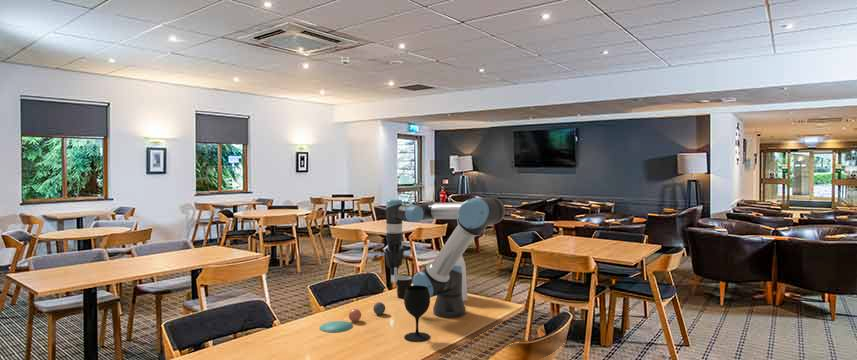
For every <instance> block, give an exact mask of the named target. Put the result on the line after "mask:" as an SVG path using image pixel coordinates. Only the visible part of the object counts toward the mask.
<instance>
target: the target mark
mask: <svg viewBox="0 0 857 360" xmlns="http://www.w3.org/2000/svg"><path fill="white" fill-rule="evenodd" d="M353 326H354V325H353V323H351V322H349V321H343V320H336V321H329V322H325V323H322V324H321V325H320V326H319V331H322V332H325V333H331V334H332V333H334V334H335V333H342V332H346V331H347V332H348V331H349V330H351V329H352V328H353Z"/></svg>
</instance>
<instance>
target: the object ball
mask: <svg viewBox="0 0 857 360" xmlns="http://www.w3.org/2000/svg"><path fill="white" fill-rule="evenodd" d="M348 318H349V320H350V322H353V323H356V322H358V321H360V320H361V318H362V312H361V310H360V309H357V308H352V309H351V310H350V311H349V313H348Z"/></svg>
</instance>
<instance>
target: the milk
mask: <svg viewBox="0 0 857 360" xmlns="http://www.w3.org/2000/svg"><path fill="white" fill-rule="evenodd" d="M456 264H458V265H460V266H461V267H462V298H463V302H465V301H464V300H467V301H468V290H467V289H468V286H467V285H468V284H467V269H466V267H467V266H466V262H465V259H464V256H463V255H462V256H461V257H460V258H459V260H458V261H457V263H456Z"/></svg>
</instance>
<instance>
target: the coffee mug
mask: <svg viewBox="0 0 857 360" xmlns="http://www.w3.org/2000/svg"><path fill="white" fill-rule="evenodd" d="M412 283H413V277H412V276H409V275H407V276H406V275H400V276H397V282H395V286H396V293H397V294H396V295H397V298H398V299H401V300H402V299H403V300H404V295H405V291H406V288H407V287H409V286H412Z"/></svg>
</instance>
